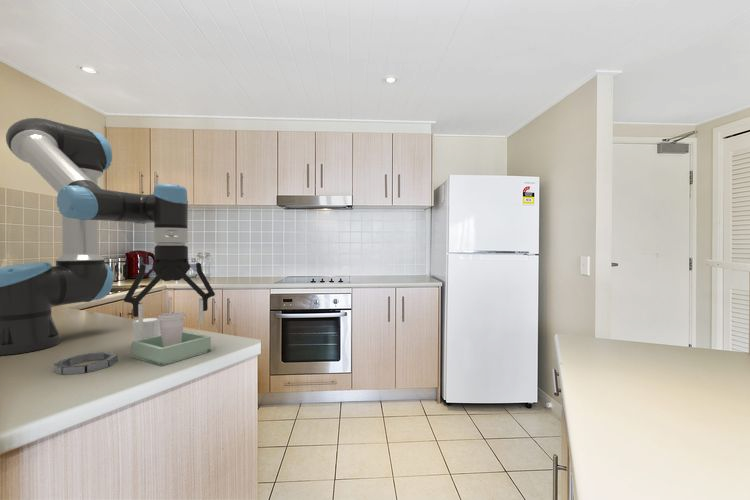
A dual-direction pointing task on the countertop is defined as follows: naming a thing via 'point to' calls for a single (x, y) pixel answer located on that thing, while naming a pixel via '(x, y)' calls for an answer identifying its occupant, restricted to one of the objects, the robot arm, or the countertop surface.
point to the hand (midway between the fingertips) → (172, 326)
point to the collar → (65, 369)
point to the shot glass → (146, 328)
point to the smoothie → (171, 326)
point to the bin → (170, 348)
